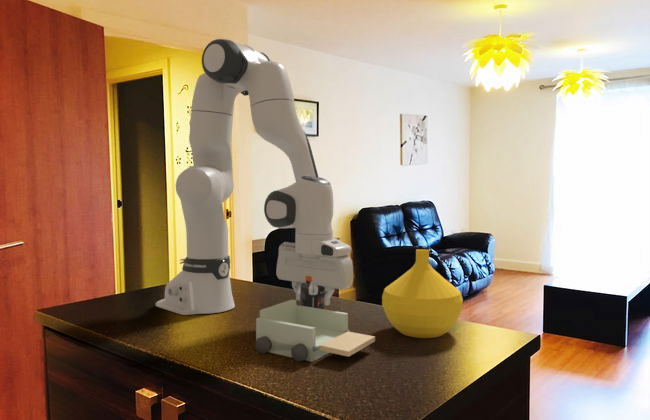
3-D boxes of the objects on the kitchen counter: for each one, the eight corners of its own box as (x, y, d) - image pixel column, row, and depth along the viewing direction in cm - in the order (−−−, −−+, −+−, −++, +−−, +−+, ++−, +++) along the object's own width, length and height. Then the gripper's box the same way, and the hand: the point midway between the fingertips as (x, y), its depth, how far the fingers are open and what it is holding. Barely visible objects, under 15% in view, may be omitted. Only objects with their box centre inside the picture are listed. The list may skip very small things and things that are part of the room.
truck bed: (252, 351, 108) (251, 312, 108) (298, 331, 122) (298, 297, 122) (311, 364, 100) (311, 323, 100) (353, 341, 114) (353, 305, 114)
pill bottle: (321, 325, 122) (322, 277, 121) (296, 323, 123) (297, 275, 123) (326, 318, 128) (327, 272, 127) (303, 316, 129) (304, 271, 128)
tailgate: (319, 345, 103) (348, 351, 99) (347, 331, 112) (375, 336, 108) (319, 351, 103) (348, 357, 99) (347, 337, 112) (375, 342, 108)
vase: (464, 324, 128) (465, 246, 126) (459, 348, 110) (461, 257, 109) (389, 318, 133) (390, 243, 132) (374, 340, 116) (374, 253, 115)
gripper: (271, 242, 127) (270, 298, 128) (343, 250, 116) (341, 311, 117) (287, 239, 133) (286, 293, 134) (357, 247, 122) (355, 306, 122)
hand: (312, 302), depth 125 cm, fingers closed on pill bottle, 6 cm apart
